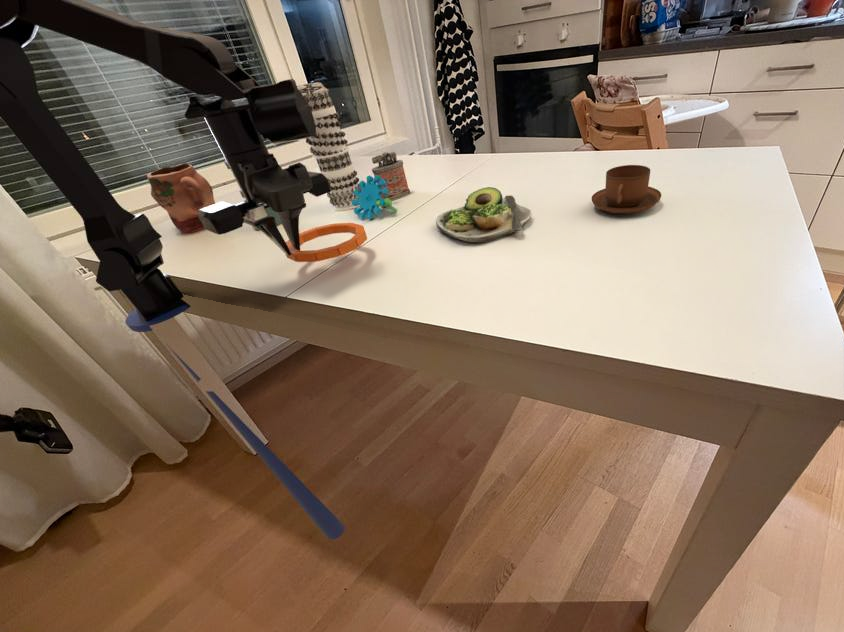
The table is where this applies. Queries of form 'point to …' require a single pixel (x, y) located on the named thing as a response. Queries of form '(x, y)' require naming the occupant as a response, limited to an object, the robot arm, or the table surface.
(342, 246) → the ring
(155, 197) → the decorative planter
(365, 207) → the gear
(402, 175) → the lighter
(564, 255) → the table surface
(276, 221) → the cup
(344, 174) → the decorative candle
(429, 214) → the table surface
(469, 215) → the avocado toast plate
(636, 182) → the cup and saucer
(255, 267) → the table surface
